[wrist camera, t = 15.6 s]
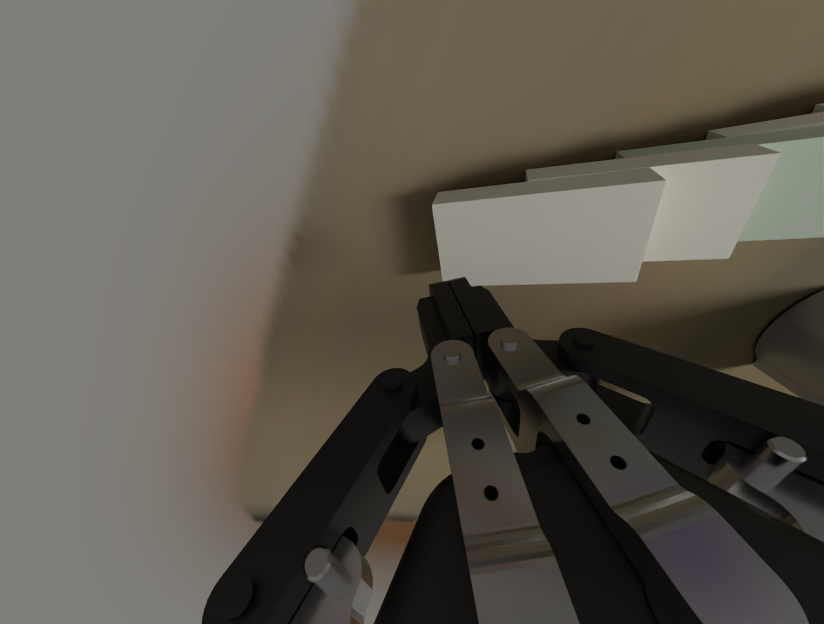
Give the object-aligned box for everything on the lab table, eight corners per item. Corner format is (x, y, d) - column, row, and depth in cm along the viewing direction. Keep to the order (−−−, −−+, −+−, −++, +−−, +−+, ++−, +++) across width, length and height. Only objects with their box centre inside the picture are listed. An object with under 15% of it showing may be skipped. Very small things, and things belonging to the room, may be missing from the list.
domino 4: (616, 151, 17) (857, 121, 15) (599, 233, 20) (797, 221, 18) (627, 160, 16) (898, 128, 13) (607, 247, 19) (825, 237, 16)
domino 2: (525, 169, 17) (752, 143, 14) (522, 250, 20) (709, 241, 17) (527, 180, 16) (781, 153, 13) (523, 265, 19) (728, 258, 16)
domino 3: (708, 130, 18) (970, 87, 15) (681, 215, 20) (896, 194, 17) (728, 137, 16) (1025, 90, 13) (696, 227, 19) (933, 206, 16)
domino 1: (438, 192, 17) (649, 167, 14) (448, 269, 20) (625, 262, 17) (431, 204, 16) (666, 179, 13) (443, 286, 19) (636, 281, 16)
